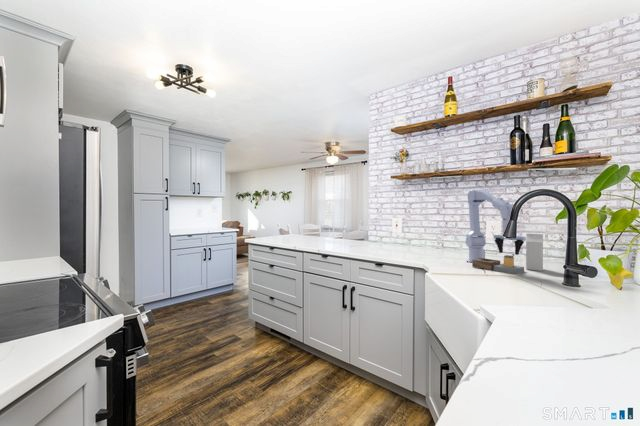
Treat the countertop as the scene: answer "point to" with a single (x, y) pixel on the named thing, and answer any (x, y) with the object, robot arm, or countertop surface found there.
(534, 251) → the milk carton
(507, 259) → the plug
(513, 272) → the lower jack
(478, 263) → the upper jack
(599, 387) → the countertop surface
